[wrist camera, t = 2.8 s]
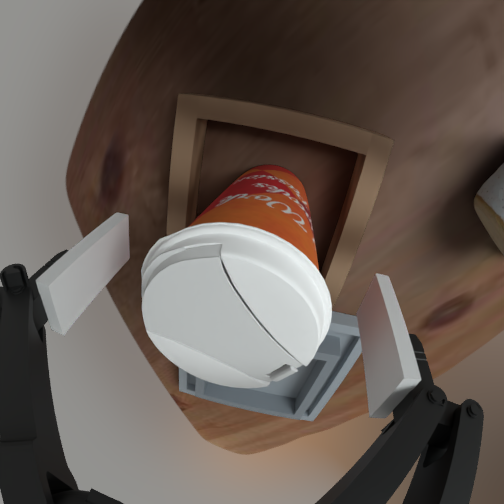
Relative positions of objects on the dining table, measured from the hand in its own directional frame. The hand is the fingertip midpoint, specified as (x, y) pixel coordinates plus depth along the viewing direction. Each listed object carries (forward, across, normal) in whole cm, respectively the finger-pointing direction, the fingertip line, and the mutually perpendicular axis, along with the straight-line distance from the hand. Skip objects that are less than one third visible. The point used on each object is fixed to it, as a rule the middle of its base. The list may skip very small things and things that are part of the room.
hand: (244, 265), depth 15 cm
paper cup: (+9, 0, 0) cm, 9 cm away
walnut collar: (+9, 0, 0) cm, 9 cm away
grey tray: (+9, +3, -18) cm, 20 cm away
